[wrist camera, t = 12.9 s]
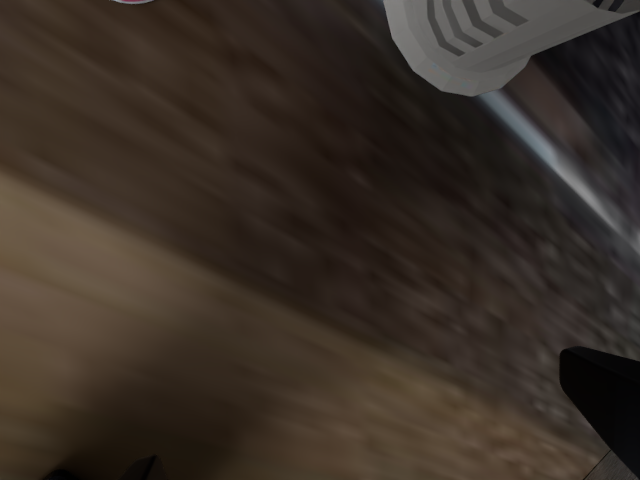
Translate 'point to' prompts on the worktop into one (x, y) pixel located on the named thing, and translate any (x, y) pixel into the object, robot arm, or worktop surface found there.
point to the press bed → (611, 469)
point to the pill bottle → (133, 1)
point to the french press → (488, 36)
